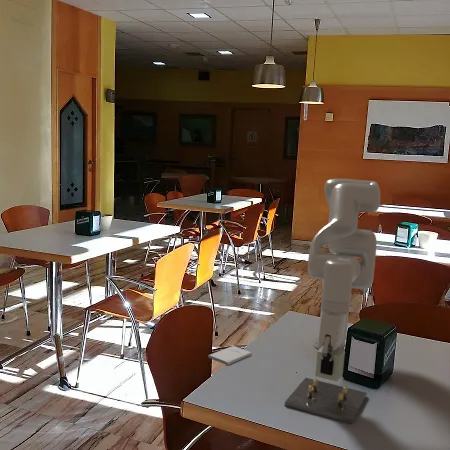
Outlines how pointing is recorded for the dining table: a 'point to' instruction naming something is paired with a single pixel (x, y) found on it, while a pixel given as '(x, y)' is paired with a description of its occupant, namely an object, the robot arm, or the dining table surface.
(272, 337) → the dining table surface
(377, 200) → the robot arm
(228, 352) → the external hard drive
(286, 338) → the dining table surface
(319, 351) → the beige block
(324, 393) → the plate
